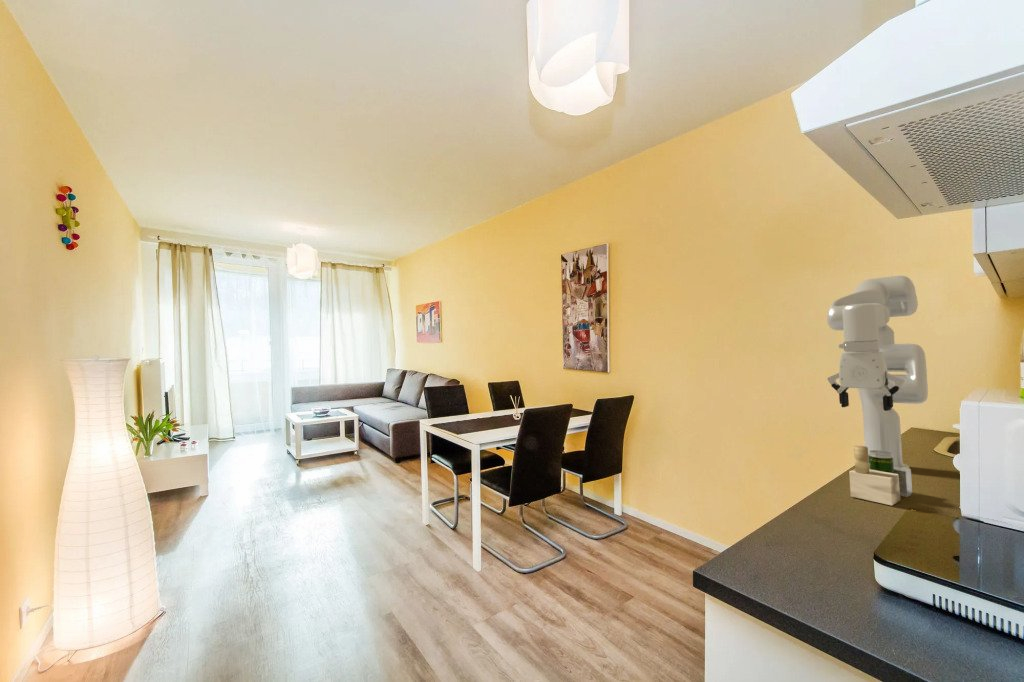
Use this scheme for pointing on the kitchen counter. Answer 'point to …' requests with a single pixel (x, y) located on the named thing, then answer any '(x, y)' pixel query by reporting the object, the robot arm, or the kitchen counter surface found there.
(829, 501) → the kitchen counter surface
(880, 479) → the wooden block with peg
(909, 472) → the grey box
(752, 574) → the kitchen counter surface
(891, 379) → the robot arm
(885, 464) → the beer can
